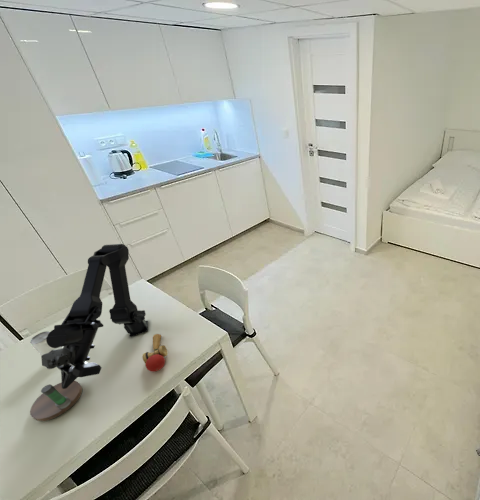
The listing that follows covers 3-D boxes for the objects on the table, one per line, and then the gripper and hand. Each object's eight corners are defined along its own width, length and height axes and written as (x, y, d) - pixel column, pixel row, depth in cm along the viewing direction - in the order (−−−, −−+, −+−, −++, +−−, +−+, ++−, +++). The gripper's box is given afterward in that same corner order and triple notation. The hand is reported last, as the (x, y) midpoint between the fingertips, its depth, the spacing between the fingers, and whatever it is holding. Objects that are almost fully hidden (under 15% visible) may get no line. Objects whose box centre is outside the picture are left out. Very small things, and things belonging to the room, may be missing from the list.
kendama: (146, 346, 117) (143, 378, 103) (143, 334, 115) (139, 365, 100) (168, 341, 121) (168, 371, 107) (166, 329, 118) (165, 358, 104)
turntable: (24, 411, 94) (-1, 393, 88) (68, 377, 104) (49, 359, 97) (47, 427, 90) (23, 410, 83) (91, 390, 100) (72, 372, 93)
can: (57, 365, 109) (37, 346, 102) (44, 362, 110) (23, 343, 103) (74, 351, 114) (56, 331, 107) (61, 348, 115) (42, 329, 108)
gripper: (34, 334, 92) (15, 384, 90) (70, 353, 86) (49, 406, 84) (75, 332, 102) (58, 376, 100) (109, 348, 96) (92, 396, 94)
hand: (64, 388), depth 94 cm, fingers closed
